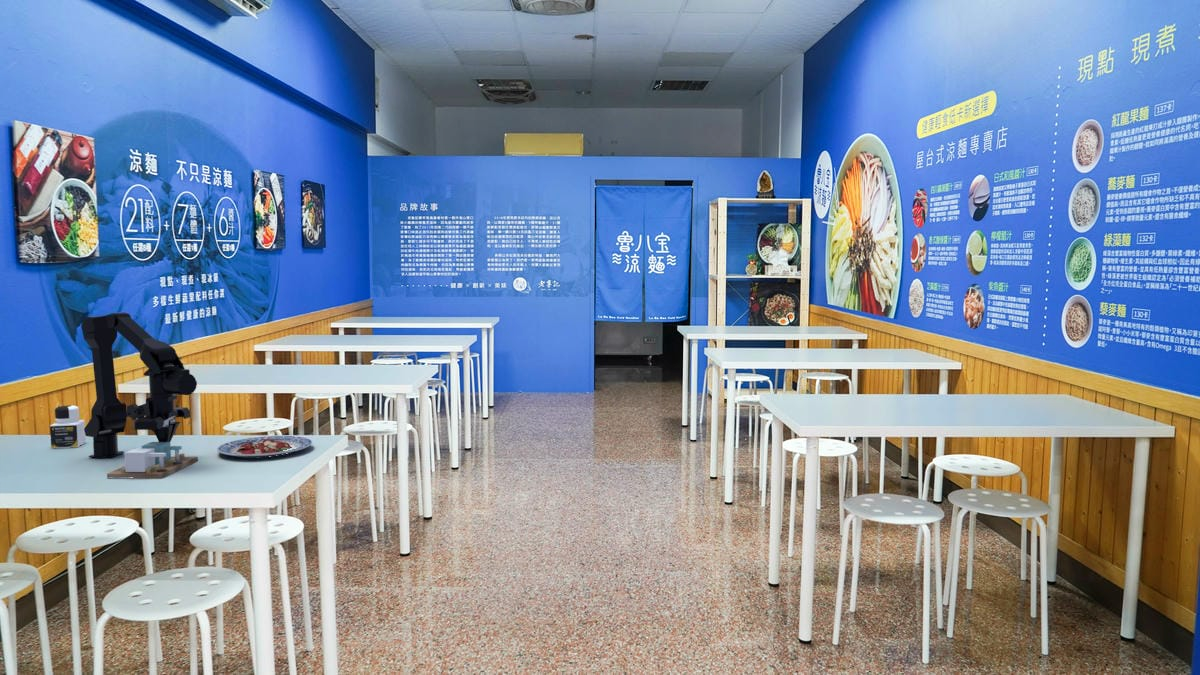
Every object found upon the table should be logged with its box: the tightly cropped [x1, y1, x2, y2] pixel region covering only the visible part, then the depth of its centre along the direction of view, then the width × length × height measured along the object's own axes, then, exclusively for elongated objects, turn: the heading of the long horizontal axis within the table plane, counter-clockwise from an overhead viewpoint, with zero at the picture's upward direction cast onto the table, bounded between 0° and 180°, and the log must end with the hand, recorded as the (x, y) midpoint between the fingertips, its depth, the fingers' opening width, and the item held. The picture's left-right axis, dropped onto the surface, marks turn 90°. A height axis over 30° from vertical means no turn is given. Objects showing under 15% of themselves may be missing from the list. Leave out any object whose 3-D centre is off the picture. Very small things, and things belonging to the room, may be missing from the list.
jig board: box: [106, 452, 199, 479], centre depth 226 cm, size 19×14×2 cm
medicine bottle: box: [49, 404, 87, 449], centre depth 255 cm, size 7×7×12 cm
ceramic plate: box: [216, 435, 313, 459], centre depth 247 cm, size 26×26×3 cm
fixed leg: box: [124, 447, 166, 472], centre depth 220 cm, size 5×9×5 cm, turn 89°
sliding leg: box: [141, 441, 183, 465], centre depth 227 cm, size 5×9×5 cm, turn 89°
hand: (164, 449), depth 232 cm, fingers closed
